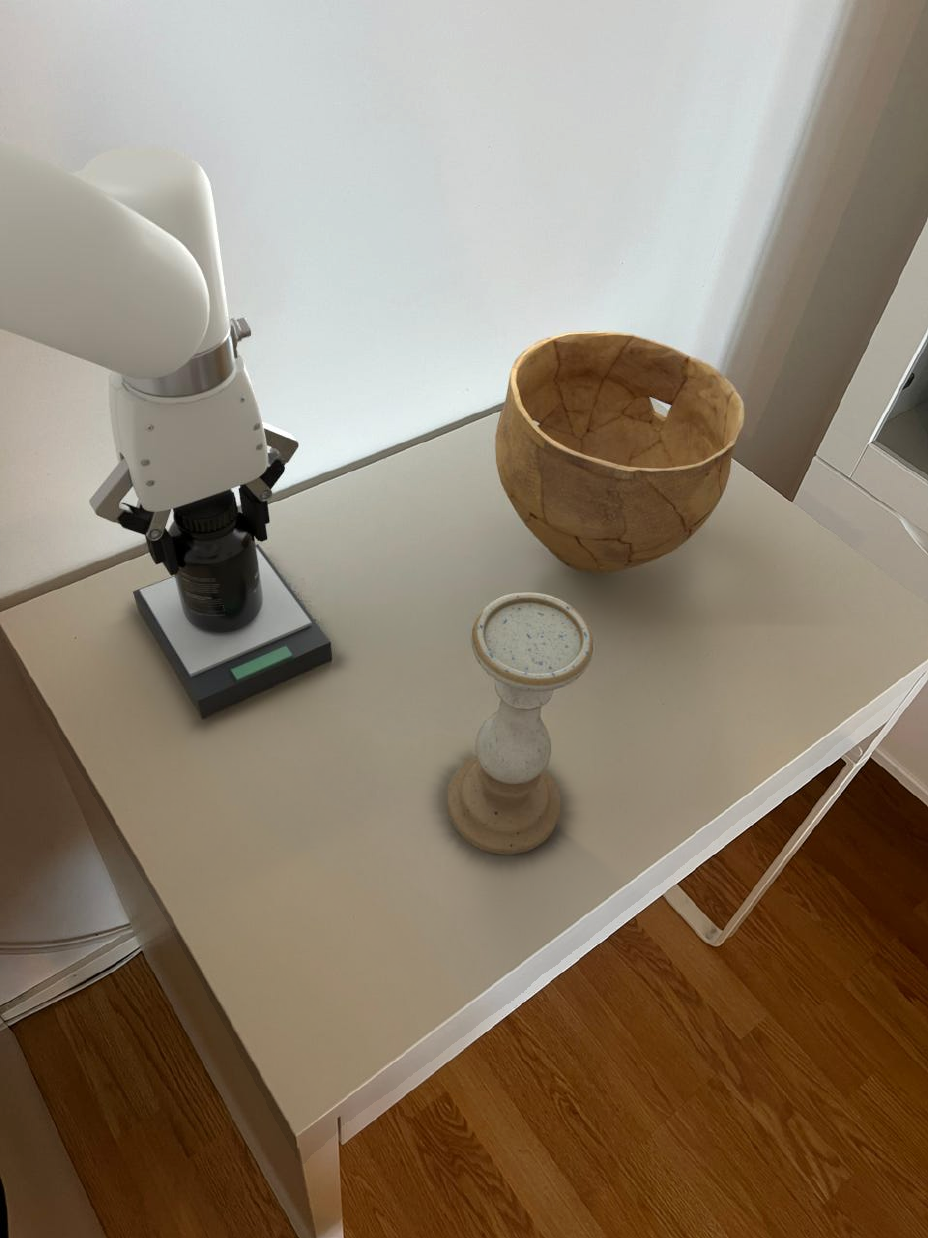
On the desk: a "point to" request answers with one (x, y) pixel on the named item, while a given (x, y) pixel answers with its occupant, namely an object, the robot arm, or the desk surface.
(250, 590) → the supplement bottle
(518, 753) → the candle holder
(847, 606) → the desk surface
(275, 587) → the scale
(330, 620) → the desk surface
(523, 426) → the bowl
